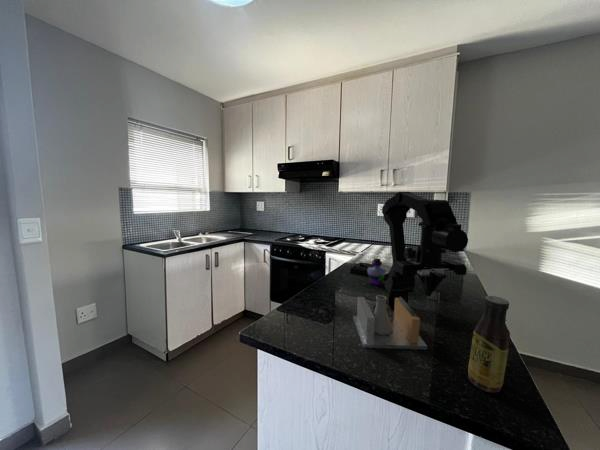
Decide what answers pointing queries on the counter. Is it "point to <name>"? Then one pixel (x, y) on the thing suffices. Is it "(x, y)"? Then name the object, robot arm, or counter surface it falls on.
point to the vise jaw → (407, 320)
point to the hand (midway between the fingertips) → (427, 295)
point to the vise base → (374, 340)
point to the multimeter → (362, 270)
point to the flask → (381, 317)
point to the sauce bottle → (490, 346)
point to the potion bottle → (376, 273)
